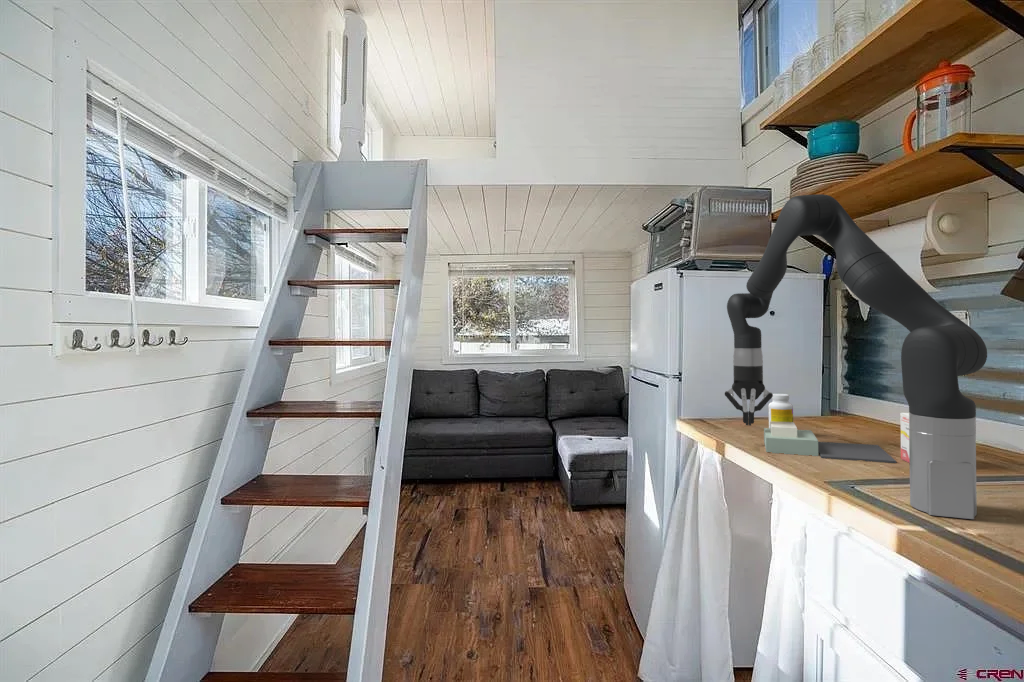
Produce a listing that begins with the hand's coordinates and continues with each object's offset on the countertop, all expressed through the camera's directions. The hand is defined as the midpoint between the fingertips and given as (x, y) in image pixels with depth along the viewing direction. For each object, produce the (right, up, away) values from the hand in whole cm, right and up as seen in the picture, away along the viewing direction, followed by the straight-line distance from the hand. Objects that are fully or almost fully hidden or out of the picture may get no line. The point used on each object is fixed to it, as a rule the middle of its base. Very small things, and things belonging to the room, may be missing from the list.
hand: (748, 424), depth 144 cm
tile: (+8, -1, -4) cm, 9 cm away
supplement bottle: (+15, -6, +11) cm, 19 cm away
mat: (+22, -6, -10) cm, 25 cm away
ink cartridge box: (+31, -6, -22) cm, 38 cm away
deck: (+9, -6, -4) cm, 12 cm away
